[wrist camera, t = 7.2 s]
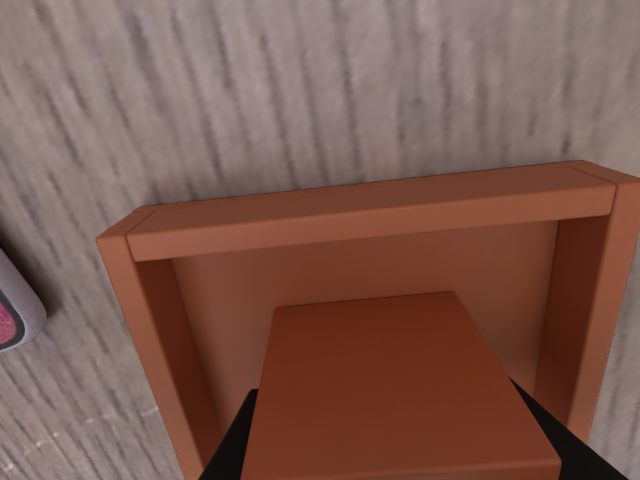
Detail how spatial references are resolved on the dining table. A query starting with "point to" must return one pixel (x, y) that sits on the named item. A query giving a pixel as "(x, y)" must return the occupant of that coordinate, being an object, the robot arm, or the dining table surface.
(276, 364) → the terracotta block
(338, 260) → the terracotta tray
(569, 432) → the robot arm
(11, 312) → the smartphone
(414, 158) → the dining table surface
